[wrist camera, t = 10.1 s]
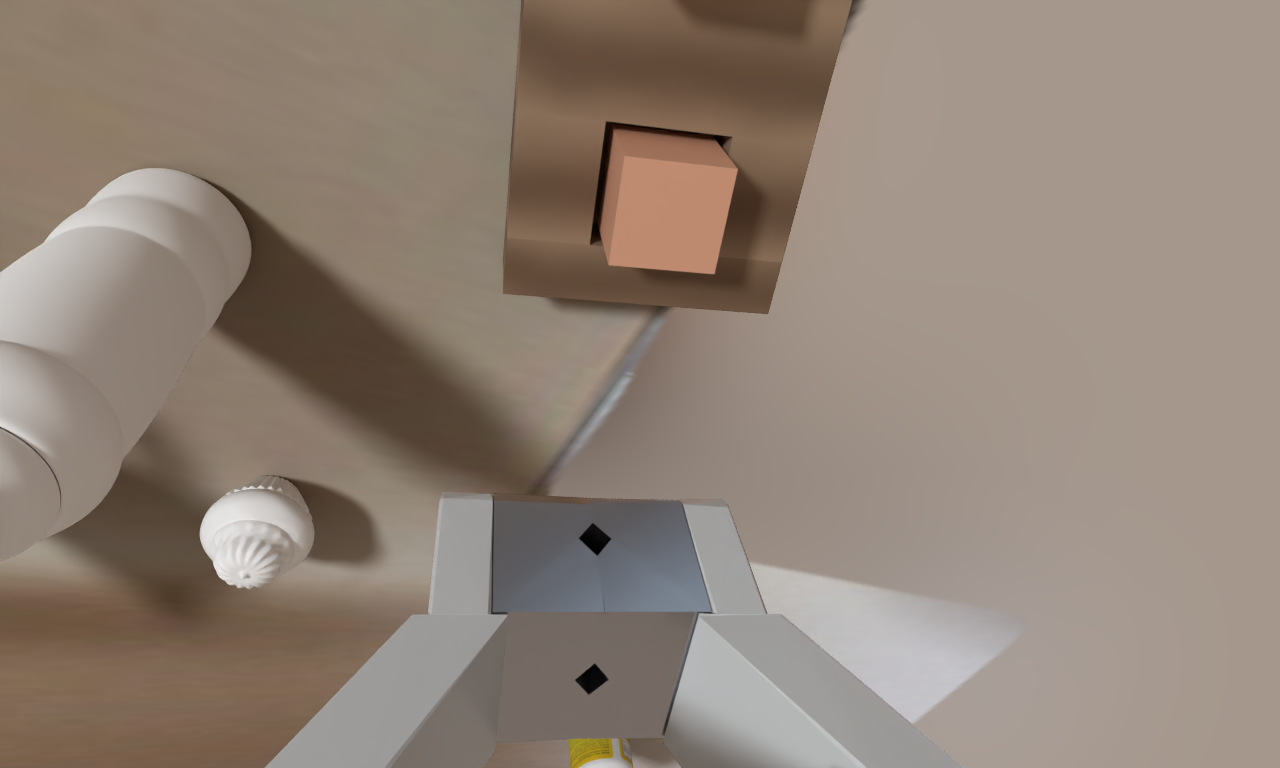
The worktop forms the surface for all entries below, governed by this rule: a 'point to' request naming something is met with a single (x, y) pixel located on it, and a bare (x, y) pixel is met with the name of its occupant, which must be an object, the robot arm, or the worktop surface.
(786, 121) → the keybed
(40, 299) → the water bottle
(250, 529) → the muffin
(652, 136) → the terracotta key
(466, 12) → the worktop surface
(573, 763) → the supplement bottle
